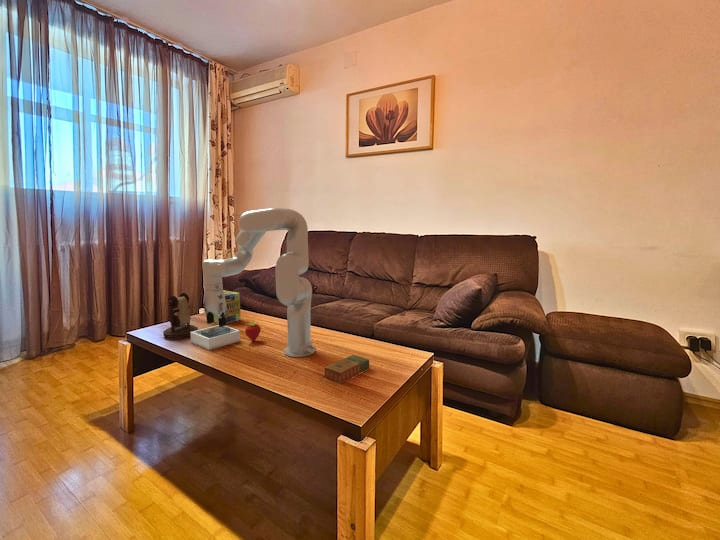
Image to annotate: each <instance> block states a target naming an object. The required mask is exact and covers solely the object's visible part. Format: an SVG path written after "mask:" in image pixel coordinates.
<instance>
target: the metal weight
mask: <svg viewBox="0 0 720 540" xmlns="http://www.w3.org/2000/svg"><path fill="white" fill-rule="evenodd" d="M215 326H216V327H213V326H212V327H213V328H209V327H208V328H209V329H206V330H203V331H201V335H202V336H205V337H207V338H212V337H216V336H219V335H223V334H227V333H230V326H228V327H226V326H227V325H226V326H223V327H219V326H217V325H215Z"/></svg>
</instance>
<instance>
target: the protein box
mask: <svg viewBox="0 0 720 540" xmlns="http://www.w3.org/2000/svg"><path fill="white" fill-rule="evenodd" d="M223 291H224V295H225V300H226V308H227V315H226V325H227V324H233V323H235V321H236V322H239V320H240V321H241V320H242V319H241V318H242V317H241V298H240V297H241V296H240V292H236V291H232V290H231V291H229V290H224V289H223ZM212 314H214V321H215V322H214V323H217V322H218V324H219V321H218V318H219V316H218V314H217V313H212ZM220 314H222V313H220Z"/></svg>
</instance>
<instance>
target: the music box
mask: <svg viewBox="0 0 720 540" xmlns="http://www.w3.org/2000/svg"><path fill="white" fill-rule="evenodd" d="M189 302H190V296H189V295H188V294H187V293H185V292H182V293H180V294H179V296H178V297H177V296H175V295H171V296H169V298H168V299H167V303H168V305H169V311H168V314H169V316H170V317H169V324H170V327H168V328H166V329H165V330H164V331H163V337H164V336H166V337H165V338H180V340H183V338H184V337H187V336H191V333H190V332H193V331H197V330H199V328H198V326H196V325H193V324H191V318H192V317H191V314H190V308H191V306H190V305H189V304H190V303H189ZM175 313H179V316H178V315H177V314H175Z"/></svg>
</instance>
